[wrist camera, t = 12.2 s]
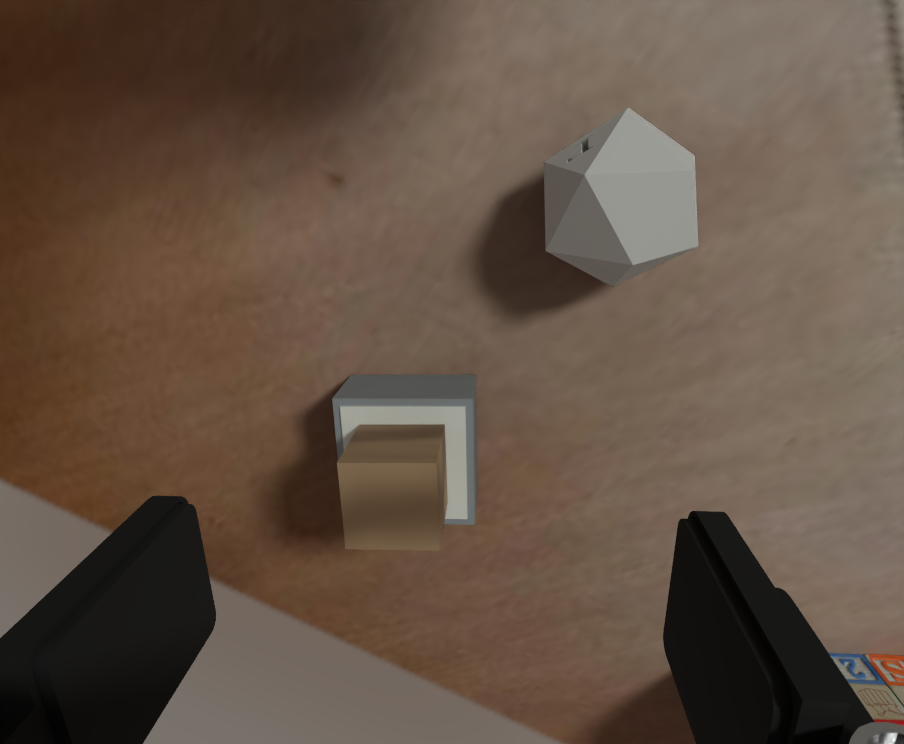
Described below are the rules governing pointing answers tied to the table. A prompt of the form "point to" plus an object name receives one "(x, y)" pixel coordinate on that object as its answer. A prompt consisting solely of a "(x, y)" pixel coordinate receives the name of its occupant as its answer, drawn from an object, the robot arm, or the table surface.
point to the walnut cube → (394, 487)
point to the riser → (419, 405)
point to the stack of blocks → (876, 683)
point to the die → (620, 200)
